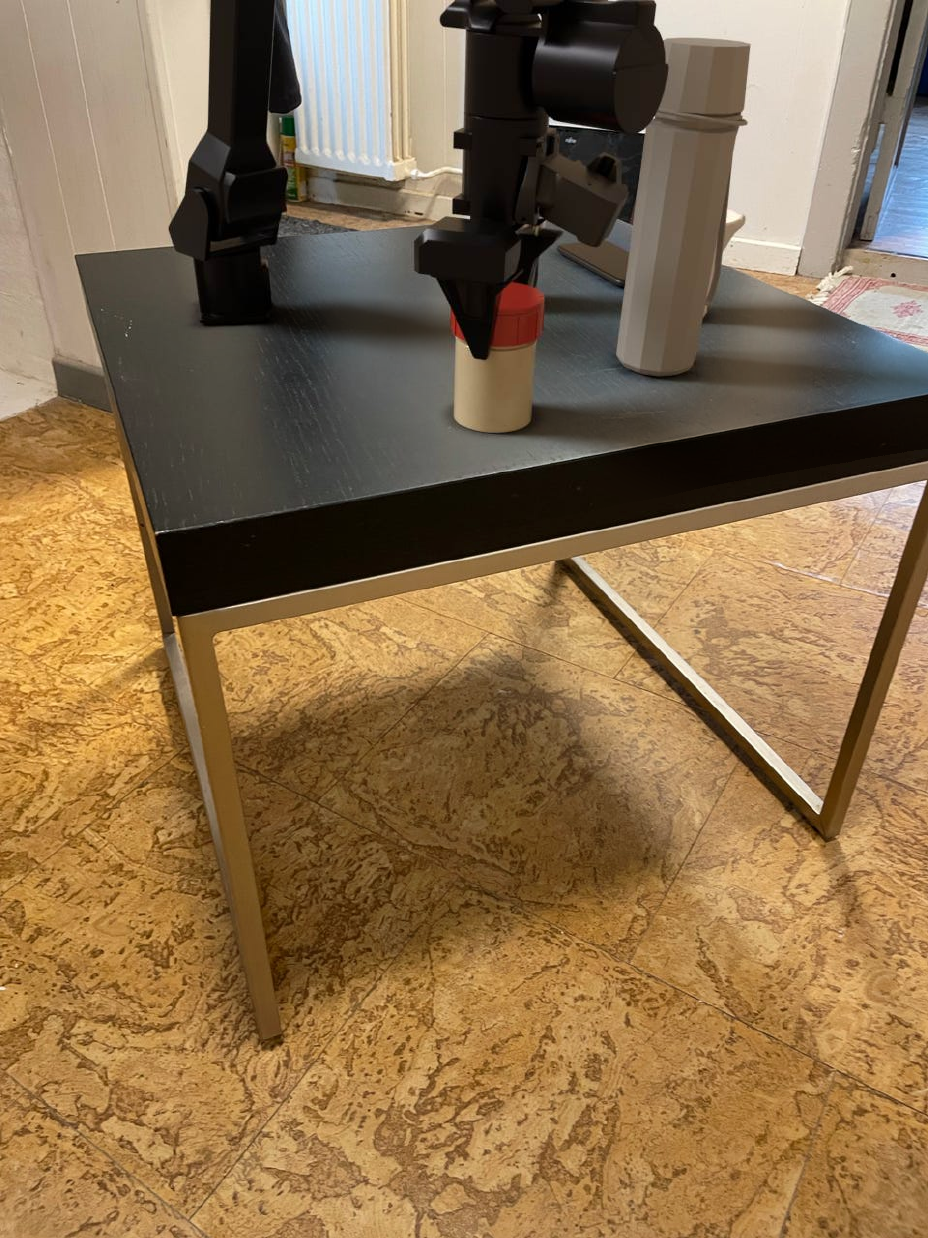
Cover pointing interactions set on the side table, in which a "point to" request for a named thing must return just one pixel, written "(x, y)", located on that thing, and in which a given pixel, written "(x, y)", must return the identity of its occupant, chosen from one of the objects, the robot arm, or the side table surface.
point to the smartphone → (599, 259)
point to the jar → (494, 387)
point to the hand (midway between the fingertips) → (495, 343)
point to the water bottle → (682, 205)
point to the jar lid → (515, 316)
